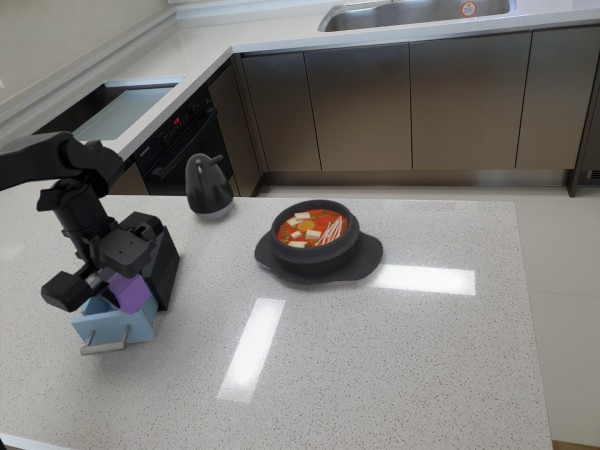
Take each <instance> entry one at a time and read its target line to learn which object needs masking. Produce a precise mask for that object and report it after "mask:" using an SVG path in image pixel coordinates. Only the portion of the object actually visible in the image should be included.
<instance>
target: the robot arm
mask: <svg viewBox="0 0 600 450" xmlns="http://www.w3.org/2000/svg"><path fill="white" fill-rule="evenodd" d="M125 169H126V165H125V161H124V159H123V157H122V156H120V155H119V154H118V153H117V152H116V151H115V150H113V149H111V148H109V147H107V146H104V145H103V143H102V140H101V139H95V140H88V141H86V143H85V144H84V143H82V142H80V141H79V140H77V139H76V138H75V136H74V134H73V132H70V131H68V130H67V131H66V130H63V131H62V130H61V131H54V132H47V133H39V134H30V135H24V136H23V135H22V136H19V137H17V138H15V139H13V140H11V141H9V142H7V143H4V144H3V145H2V146H1V148H0V192H3V191H5V190H9V189H12V188H14V187H17V186H20V185H23V184H27V183H28V184H29V183H37V182H47V181H55V180H56V181H55V182H54V183H53V184H52V185H51V186H50V187H49V188H42V189H40V191H39V198H38V200H37V201H36V206H35V207H36V209H35V210H36V212H39V213H43V212H50V211H51V212H53V213H54V215H55V217H56V219H57V220H58V222H59V224H60V225H61V227H62V228H63V229H61V230H60V233H61V234H62V235H63V237H64V238H67V239H70V241H71V243H72V244H73V246H74V248H75V250H76V251H75V252H74V255H75V256H76V258H77V259H78V260H81V261H82V262H83V263H84V264H82V265H81V267H80V268H79V269H78V270H77V271H75V272H74V273H71V272H67V271H64V270H60V271H58V273H57V274H55V275H54V276H53V277H52V278H51V279H49V280H48V281H47V282H45V284H43V285H42V286H41V287H40V288H41V289H40V296H41V298H42V299H43V300H44V302H45V304H48V305H49V306H52V307H55V308H57V309H60V310H62V311H64V312H66V313H69V314H71V313H75V312H76V311H78V310H79V309H80V308H81V307H83V305H84V303H85V302H86V301H87V300H88V299H89V298H94V297H96V296H97V297H99V298H101V299H102V300H104V301H105V302H107V303H108V304H110V305H112V306H113V307H115V308H117V309H120V308H121V307H120V305H119V302H118V300H117V299H116V298H115V296H114V295H113V293H112V292H111V291H110V289H109V288H108V287H109V284H110V283H108V282H105V281H103V280H101V279H100V278H99V275H98V273H99V272H101V271H102V270H103V269H104V268H105V267H106V266H107V267H109V268H110V269H112V270H114V271H115V272H117V273H119V274H121V275H122V276H123V277H124V278H127V279H131V278H133V277H135V276H136V275H137V274H140V275H141V276H142V268H143V267H145V266H146V265H148V264H149V263H150V262H151V253H150V252H151V251H152V250H153V249H154V248H155V247H156V246H157V244H156V238H157V237H158V236H159V235H160V234H161V233H162V232H163V231H164V227H163V226H164V224H163V223H162V222H163V221H162V220H161V219H160V218H159V217H158V216H157V215H154V214H150V213H144V212H141V211H135V210H134V211H132V212H131V213H130V214H129V215H127V216H126V217H125V218H124V219H123V220H121V221H120V222H118V220H116V218H115V217H113V216H110V215H108V214H107V211H106V209H105V208H104V205H103V203H102V202H101V200H100V199H103V198H106V196H108V195H109V193H110V192H111V191H112V189H113V188H114V187H115V185H116V184H117V182H118V181H119V179H120V178H121V177H122V176H123V173H124V172H125ZM0 450H8V448H7V446H6V445H5V444H4V442H3V440H2V438H1V437H0Z"/></svg>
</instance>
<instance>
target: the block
mask: <svg viewBox="0 0 600 450" xmlns="http://www.w3.org/2000/svg"><path fill="white" fill-rule="evenodd" d="M107 282H108V283H110V284H109V287H108V288H109V289H110V291H111V292H112V293H113V295H114V296H115V298H116V299H117V300H118V302H119V305H120V307H121V308H120V309H117V308H115V307H113V306H112V305H111V307H112V308H114V309H117V310H119V311H122V312H125V313H127V314H130V315H132V314H133V313H134V312H135V311H136V310H137V309H138V308H139V307H140V306H141V305H142V304H143V303H144V302H145V301H146V300H147V299H148V298H149V297H150V296H151V293H150V291H149V289H148V287H147V286H146V284H145V282H144V280H143V278H142V276H141V275H140V274H137V275H136V276H135V277H133V278H131V279H127V278H124V277H123V276H122V275H121V274H119V273H116V274H114V275H113V276H112V277H111V278H110V279H109V280H108V281H107Z"/></svg>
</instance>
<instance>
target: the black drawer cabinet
mask: <svg viewBox="0 0 600 450" xmlns="http://www.w3.org/2000/svg"><path fill="white" fill-rule="evenodd" d="M163 227H164V231H163V232H162V233H161V234H160V235H159V236H158V237H157V238H156V244H157V246H156V247H155V248H154V249H153V250H152V251H151V252H150V253H151V262H150V263H149V264H148V265H146V266H145V267H143V268H142V278H143V280H144V281H148V283H149V285H150V287H151V289H152V291H153V292H154V294H155V296H156V298H157V300H158V302H159V305H158V309H157V313H161V312H167V311H168V310H169V305H170V301H171V297H172V294H173V289H174V285H175V280H176V278H177V277H176V276H177V272H178V269H179V265H180V261H181V256H180V254H179V251H178V249H177V247H176V245H175V243H174V241H173V240H174V239H173V238H172V235H171V234H170V231H169V229H168V226H167V225H163ZM116 273H117V272H115V271H114V270H112V269H110V268H109V267H107V266H106V267H105V268H104V269H103V270H102V271H101V272H99V273H98V275H99V278H100V279H101V280H103V281H105V282H107V281H108V280H109V279H110V278H111V277H112V276H113V275H114V274H116Z"/></svg>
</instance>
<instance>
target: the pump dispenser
mask: <svg viewBox="0 0 600 450" xmlns="http://www.w3.org/2000/svg"><path fill="white" fill-rule="evenodd" d="M223 159H224V157H223V155H222V154H219V155H217V156H215V157H213V158H212V157H210V156H208V155H207V154H205V153H196V154H193V155H191V157H189V159H188V160H187V162H186V166H185V171H184V172H185V173H184V187H185V193H186V200H187V204H188V206H189V209H190V211H192V212H193V213H194V214H195V216H197V217H198V218H199V219H202V220H205V221H216V220H220V219H222V218H224V217H225V216H226V215H227V214H228V213H230V211H231V210H232V207H233V203H234V198H235V193H234V191H233V188H232V185H231V183H230V182H229V179H228V178H227V176H226V174H225V173H224V171H223V170H222V168H220V166H219V165H218V163H219V162H221V161H222V160H223Z"/></svg>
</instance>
